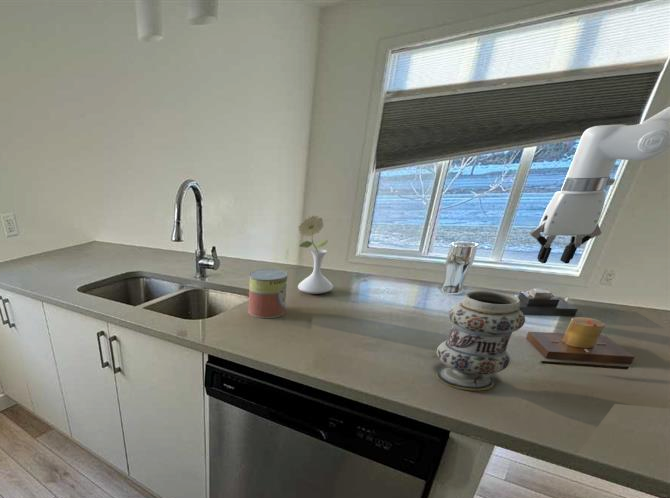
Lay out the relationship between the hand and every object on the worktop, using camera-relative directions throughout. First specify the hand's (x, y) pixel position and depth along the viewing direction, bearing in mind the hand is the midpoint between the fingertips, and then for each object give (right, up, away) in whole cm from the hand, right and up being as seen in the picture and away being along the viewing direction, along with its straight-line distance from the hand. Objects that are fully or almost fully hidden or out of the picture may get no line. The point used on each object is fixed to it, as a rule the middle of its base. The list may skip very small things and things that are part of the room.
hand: (553, 261), depth 106 cm
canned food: (-70, -10, +22) cm, 74 cm away
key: (+1, -8, +5) cm, 10 cm away
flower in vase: (-51, 0, +35) cm, 62 cm away
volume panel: (-12, -26, -16) cm, 33 cm away
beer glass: (-10, -3, +24) cm, 26 cm away
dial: (-12, -23, -18) cm, 32 cm away
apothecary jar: (-40, -32, -21) cm, 55 cm away
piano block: (+1, -11, +7) cm, 13 cm away
